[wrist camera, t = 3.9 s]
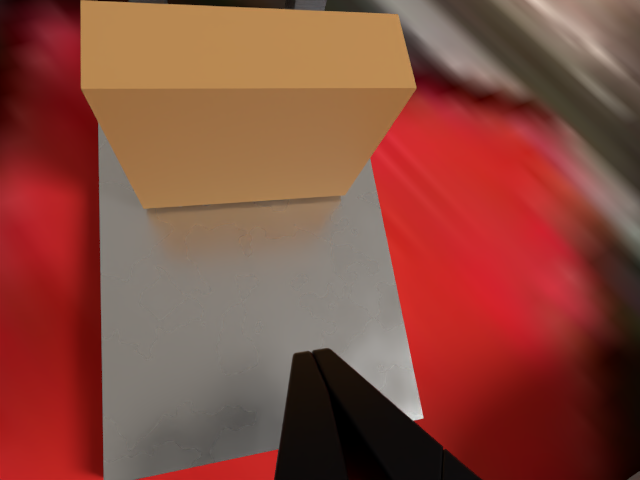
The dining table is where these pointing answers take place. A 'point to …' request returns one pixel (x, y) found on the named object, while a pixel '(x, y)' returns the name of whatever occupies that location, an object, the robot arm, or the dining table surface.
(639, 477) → the grey napkin holder
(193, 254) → the baseplate
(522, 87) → the dining table surface
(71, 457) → the dining table surface
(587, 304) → the dining table surface
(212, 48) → the tan chunky block
